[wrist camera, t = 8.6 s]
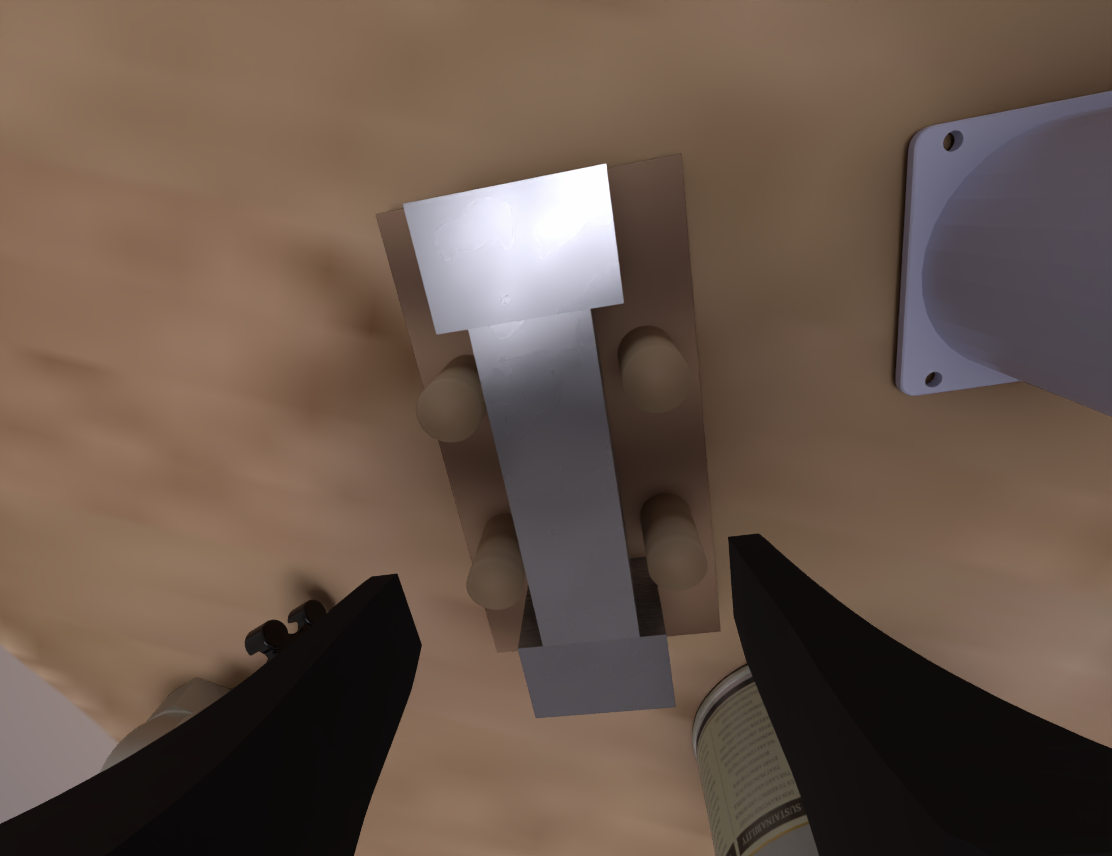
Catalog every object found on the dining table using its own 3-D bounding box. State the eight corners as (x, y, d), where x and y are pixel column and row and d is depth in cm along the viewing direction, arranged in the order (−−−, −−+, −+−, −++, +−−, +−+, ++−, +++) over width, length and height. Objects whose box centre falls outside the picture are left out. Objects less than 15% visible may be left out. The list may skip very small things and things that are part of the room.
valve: (231, 761, 28) (408, 669, 25) (130, 917, 22) (349, 821, 19) (131, 677, 26) (308, 567, 23) (-11, 822, 20) (206, 699, 17)
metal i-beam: (446, 205, 16) (402, 203, 12) (601, 174, 15) (605, 163, 12) (545, 630, 22) (535, 718, 18) (660, 619, 21) (675, 706, 17)
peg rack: (389, 214, 17) (330, 214, 13) (675, 157, 16) (702, 140, 12) (501, 631, 23) (484, 715, 19) (713, 610, 22) (740, 695, 18)
